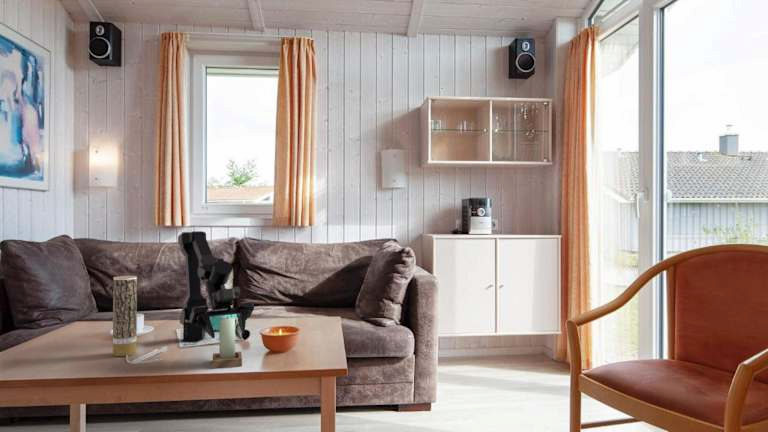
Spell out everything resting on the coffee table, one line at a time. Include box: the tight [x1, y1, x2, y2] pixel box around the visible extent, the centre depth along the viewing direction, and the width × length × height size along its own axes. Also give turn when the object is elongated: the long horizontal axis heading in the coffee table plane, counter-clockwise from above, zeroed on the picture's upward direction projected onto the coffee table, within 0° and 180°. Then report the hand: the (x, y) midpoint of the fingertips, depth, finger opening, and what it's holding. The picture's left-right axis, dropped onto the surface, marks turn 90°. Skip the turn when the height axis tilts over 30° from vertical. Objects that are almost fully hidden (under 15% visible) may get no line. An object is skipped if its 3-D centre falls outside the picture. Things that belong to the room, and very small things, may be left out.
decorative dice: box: [210, 314, 238, 332], centre depth 198 cm, size 8×8×8 cm
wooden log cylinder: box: [112, 275, 138, 357], centre depth 161 cm, size 7×7×25 cm
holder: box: [211, 351, 243, 369], centre depth 152 cm, size 8×8×2 cm
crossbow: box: [125, 346, 168, 365], centre depth 159 cm, size 16×13×2 cm
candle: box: [218, 316, 236, 360], centre depth 152 cm, size 5×5×13 cm
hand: (229, 335), depth 151 cm, fingers open, 9 cm apart
